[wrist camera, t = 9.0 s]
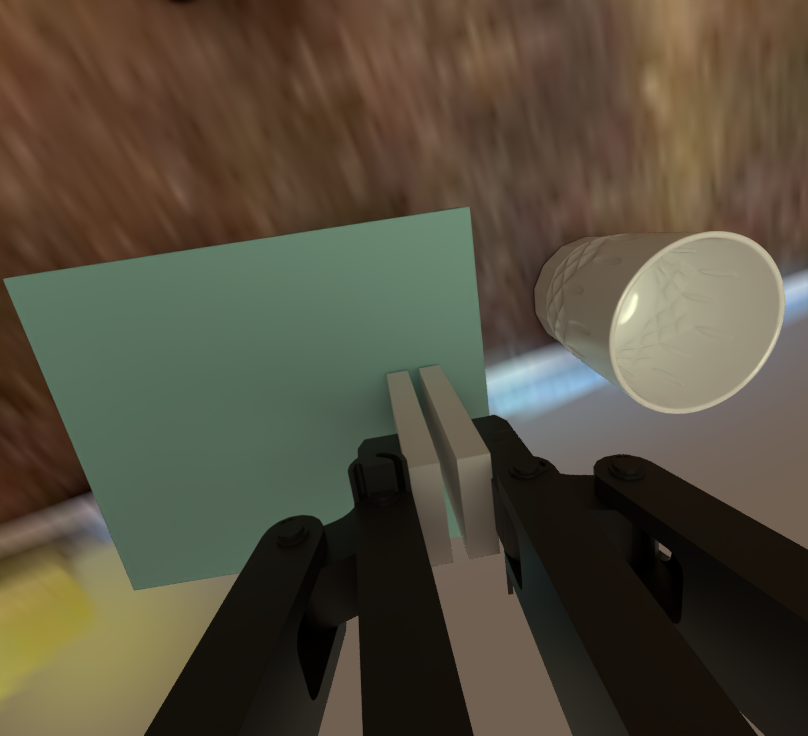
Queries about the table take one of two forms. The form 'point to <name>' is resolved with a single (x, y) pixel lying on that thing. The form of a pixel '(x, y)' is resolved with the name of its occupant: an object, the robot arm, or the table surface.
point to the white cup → (665, 313)
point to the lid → (248, 376)
